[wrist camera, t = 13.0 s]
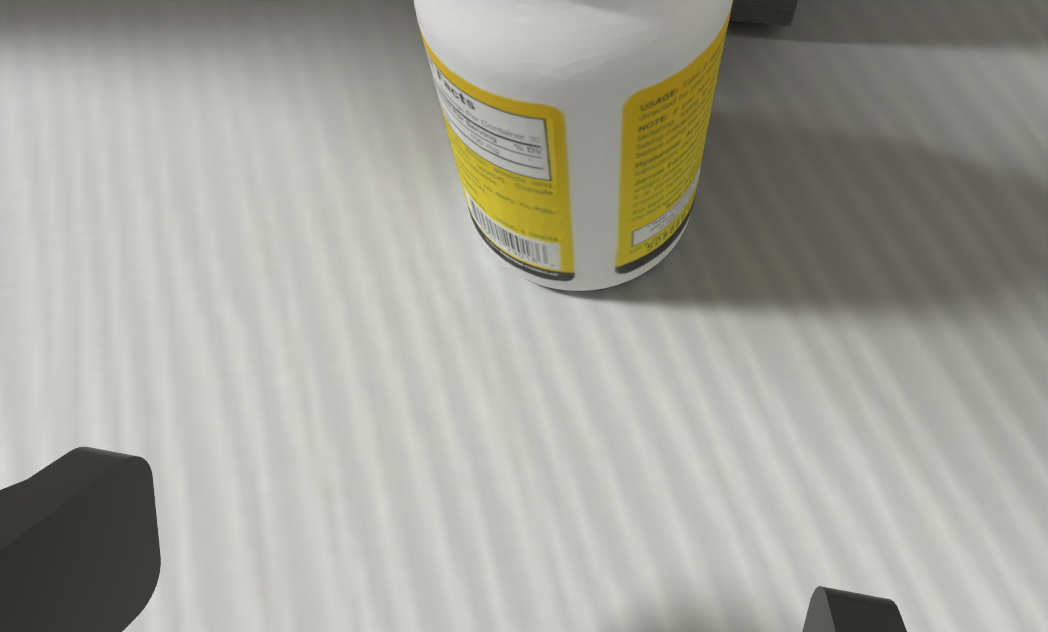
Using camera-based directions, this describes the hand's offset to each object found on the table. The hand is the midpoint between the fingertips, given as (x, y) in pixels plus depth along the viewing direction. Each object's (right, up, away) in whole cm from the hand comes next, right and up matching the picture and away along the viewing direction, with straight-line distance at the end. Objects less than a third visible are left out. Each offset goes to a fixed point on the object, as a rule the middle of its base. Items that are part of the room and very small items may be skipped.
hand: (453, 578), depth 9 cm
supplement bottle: (+2, +6, +10) cm, 12 cm away
